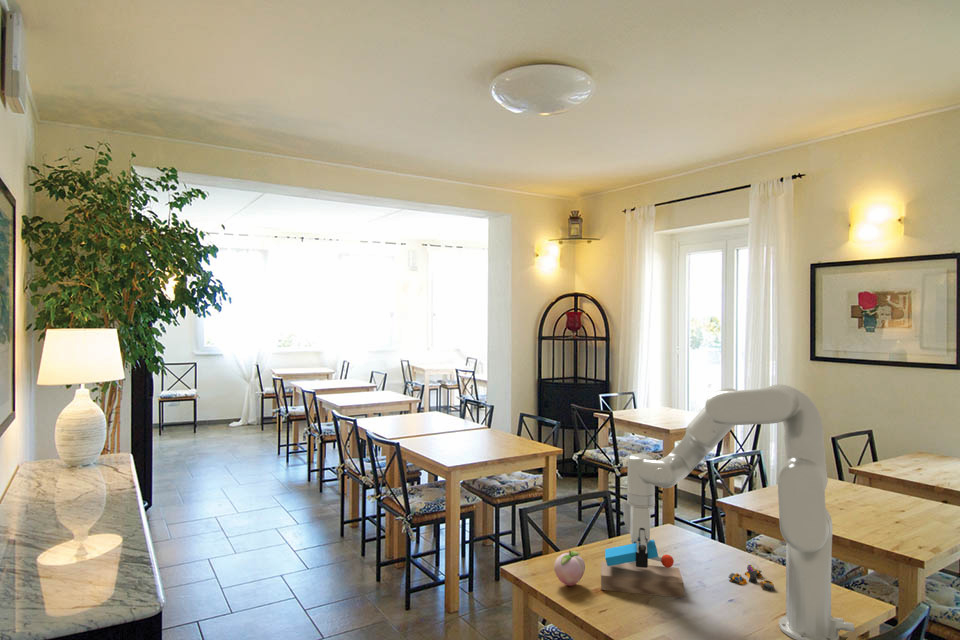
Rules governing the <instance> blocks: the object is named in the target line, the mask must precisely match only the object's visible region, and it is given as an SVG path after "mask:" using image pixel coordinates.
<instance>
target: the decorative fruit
mask: <svg viewBox="0 0 960 640" xmlns="http://www.w3.org/2000/svg"><path fill="white" fill-rule="evenodd" d="M580 555H581V553H580V552H578V551H577V550H569V552H564V553H562V554H560V555H559V556H557V558H556V559H555V561H554V565H553V566H554V567H553V568H554V573H555V575H556V577H557V578H558V580H559V581H560V582H561V583H563V584H564V585H566V586H569V587H572V586H575V585H576V584H577V583H578V582H579V581H581V579H582V577H583V576H584V573H585V571H586V563H585V561H584V560H583V558H582V557H581V556H580Z"/></svg>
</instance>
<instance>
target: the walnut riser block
mask: <svg viewBox="0 0 960 640" xmlns="http://www.w3.org/2000/svg"><path fill="white" fill-rule="evenodd" d="M684 585H685V584H684V580H683V577H682V574H681V572H680V568H679V567H673V566H671V567H669V568H668V567H665V566H663V565H662V566H661V565H660V566H659V565H649V564H648V567H647V568H642V567H636V564H628V563H623V564H618V565H612V566H607V563H606V561H603V560H601V561H600V590H602V591H603V590H604V591H611V592H612V591H613V592H620V593H621V592H623V593H631V594H641V595H642V594H644V595H653V596H664V597H675V598H684V596H685V595H684V587H685V586H684Z"/></svg>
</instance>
